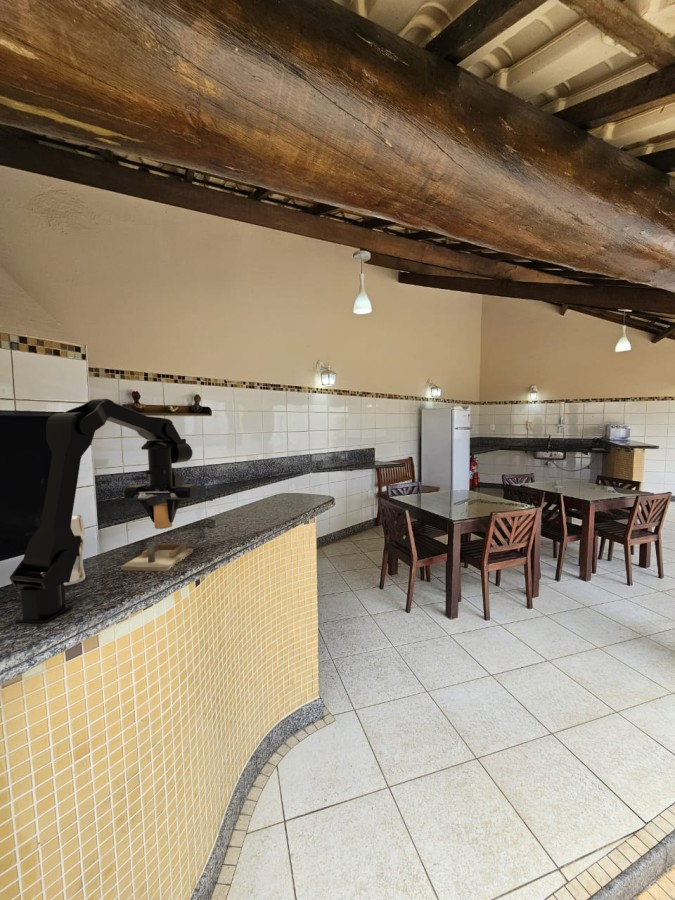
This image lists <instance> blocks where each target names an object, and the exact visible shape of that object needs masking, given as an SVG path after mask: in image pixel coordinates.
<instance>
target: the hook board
mask: <svg viewBox="0 0 675 900" xmlns="http://www.w3.org/2000/svg"><path fill="white" fill-rule="evenodd" d="M186 546H187V545H186V543H159V542H155V543H154V544H152V545H148V546H147V547H146V549H145V550H144V551H142V552H141V554H140V555H138V556H137V557H135V558H133V559H131V560H129V561H127V562H126V563H124V564H123V565H121V566H120V570H121V571H143V572H144V571H147V572H149V571H151V572H153V571H154V572H158V571H159V572H160V571H161V572H167V571H169V570H170V569H171V567H172V568H173V567H174V566H176V565H177V564H178V562H179V563H181V561H183V560H184V559H186V558H188V557H189V556H190V555H191V554H193V552H194V549H193V548H187V547H186ZM185 557H186V558H185ZM182 559H183V560H182ZM175 564H176V565H175Z"/></svg>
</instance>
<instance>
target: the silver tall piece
mask: <svg viewBox="0 0 675 900" xmlns="http://www.w3.org/2000/svg"><path fill="white" fill-rule="evenodd" d="M84 524H85V523H84V518H83V515H82V514H72V520H71V529H72V532H73V534H74V535H79V536H81V543H80V547H79V553H80V556H77V558H76V562H75V564H74V566H73V570H72V574H71V578H70V581H68V582H66V583H63V584H64V587H65V586H71V585H75V584H78V583H81V582H83V581H85V579H86V573H85V569H84V563H83V560H84V549H85V539H86V535H85V525H84Z"/></svg>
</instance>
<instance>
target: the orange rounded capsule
mask: <svg viewBox="0 0 675 900" xmlns="http://www.w3.org/2000/svg"><path fill="white" fill-rule="evenodd" d="M153 525H154V529H156V530H162V529H163V530H164V529H169V528H172V527H173V522H172V523H170V521H169V517H168V509H167V502H165V503H158V504H157V503H156V505H154V523H153Z"/></svg>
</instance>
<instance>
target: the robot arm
mask: <svg viewBox="0 0 675 900" xmlns="http://www.w3.org/2000/svg"><path fill="white" fill-rule="evenodd" d="M107 421H108V422H111V423H113V424H116V425H120V426H121V427H124V428H125V427H126V428H128V429H131V430H133V431H135V432H137V434H138V436H140V437H142V438H143V439H145V440H146V442H145V444H143V445H142V446H141V447H140V448H141V450H143V451H144V450H147V461H148V469H147V470H146V471H145V474H146V475H148V481H149V484H133V485H130V486H125V488H124V489H123V491H122V493H123V498H124V499H136V502H139V503H140V504H141V506H142V507H143V508H144V510H145V512H146V513H147V514H148V516H149V518H150V520H151V521H152V523H153V524H154V505H156V504H157V499H158V495H170V497H169V498H166V500H165V501H166V503H167V509H168V517H169V521H170V523H172V524H173V522H174V520H175V517H176V514H177V511H178V508H179V505H180V503H181V501H183V499H189V498H193V497H195V496H197V495H200V488H199V486H198V484H195V483H194V484H191V483H190V484H188V483H187V484H184V476H183V475H180V474H178V473H176V470H175V467H173V466H172V465H173V464H178V463H184V462H188V461H190V460H191V459H192V457H193V454H194V453H193V449H192V447H191V445H190V444H188V443H187V439H186V438H181V436H180V434H179V433H178V430H177V429H176V427H175V425H174V423H173V420H171V419H169V418H165V417H159V416H150V415H149V416H148V415H145V414H143V413H141V412H138V411H135V410H133V409H132V408H128V407H126V406H124V405H121V404H120V403H119V404H118V403H116V402H114V401H113V400H112V399H109V398H97V399H96V398H94V399H91V400H88V401H86V402H85V403H83V404H81V405H79V406H75V407H73V408H71V409H68V410H66V411H65V412H58V413H54V414H53V415H52V416H49V417H48V419H47V420H46V424H45V432H46V433H45V434H46V435H45V440H46V443H47V445H48V447H49V450H50V452H51V460H50V466H49V471H48V472H49V473H48V478H47V484H46V490H45V498H44V503H43V509H42V514H41V519H40V520H41V521H40V526H39V527H38V529H37V530H36V531H35V533H33V535H32V536H31V538H30V539H29V541H28V544H27V547H26V549H25V552H24V554H23V558H22V560H21V561H20V562H19V564H18V565H17V567H16V568H15V569H14V571H13V572H12V573H11V575H10V576H9V580H10V582H11V584H12V585H13V586H14V587H23V588H22V589H20V602H21V611H22V613H21V615H20V616H18V617H16V618H14V621H15V622H16V623H37V624H38V623H41V624H42V623H43V624H44V623H49V622H50V621H51V620H53V619H55V618H56V617H58V616H60V615H61V614H63V613H65V612H66V611H68V610H70V609H71V608H72V604H69V603H68V604H67V603H66V593H65V586H64V584H63V583H66V582H68V581H70V578H71V574H72V570H73V566H74V564H75V562H76V558H77V556H80V553H79V547H80V543H81V536H79V535H74V534H73V532H72V529H71V520H72V515H74V514H73V513H74V506H75V499H76V493H77V487H78V480H79V474H80V473H79V472H80V466H81V459H82V457H83V455H84V454H85V453H86V451H87V450H88V449H89V447H91V445H92V443H93V440H94V437H95V436H94V435H95V433H96V431H98V430H99V429H100V428H102V427H103V426H104V425H105V424H106V422H107ZM136 497H137V498H136ZM44 573H45V574H44Z"/></svg>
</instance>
